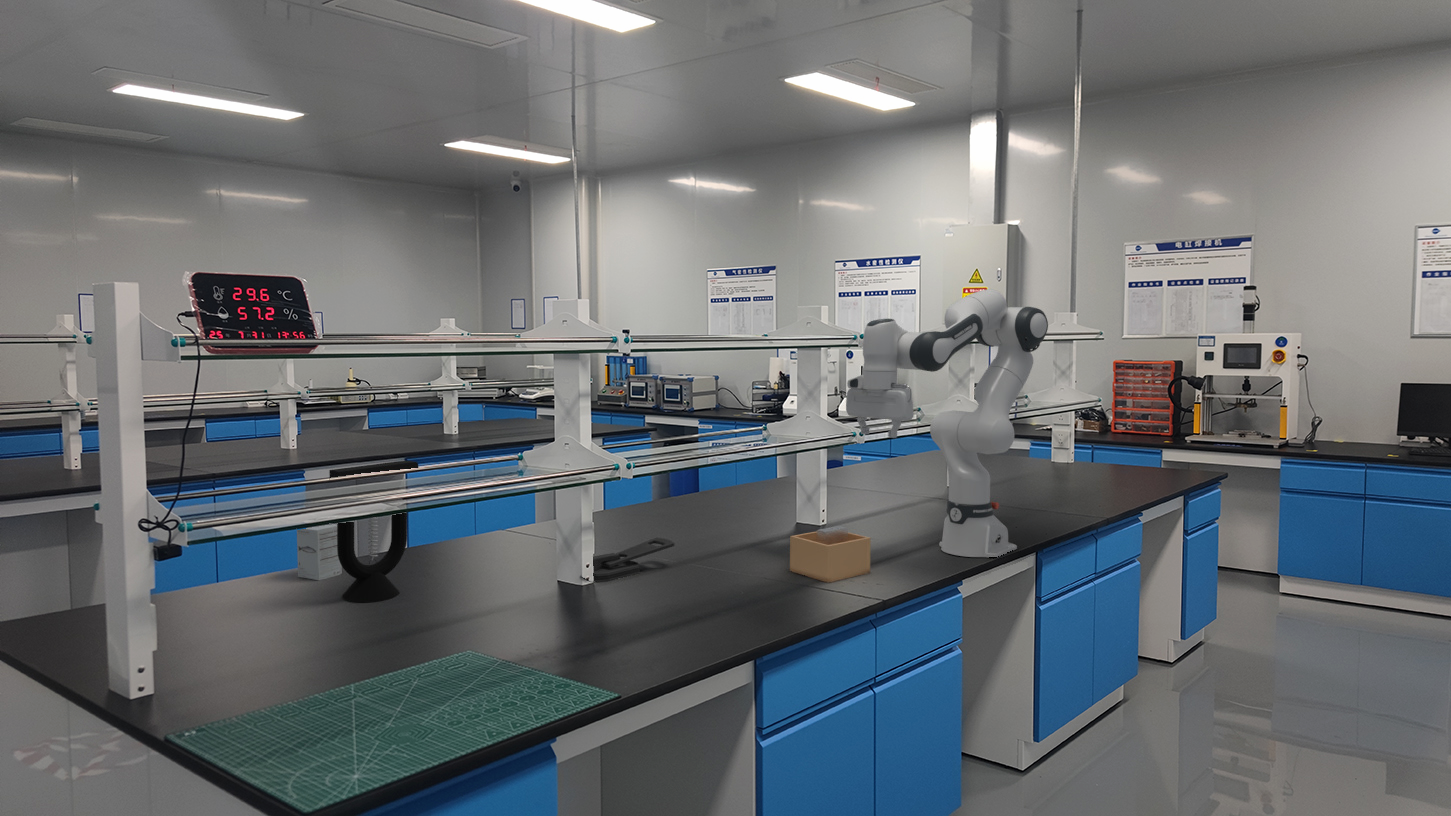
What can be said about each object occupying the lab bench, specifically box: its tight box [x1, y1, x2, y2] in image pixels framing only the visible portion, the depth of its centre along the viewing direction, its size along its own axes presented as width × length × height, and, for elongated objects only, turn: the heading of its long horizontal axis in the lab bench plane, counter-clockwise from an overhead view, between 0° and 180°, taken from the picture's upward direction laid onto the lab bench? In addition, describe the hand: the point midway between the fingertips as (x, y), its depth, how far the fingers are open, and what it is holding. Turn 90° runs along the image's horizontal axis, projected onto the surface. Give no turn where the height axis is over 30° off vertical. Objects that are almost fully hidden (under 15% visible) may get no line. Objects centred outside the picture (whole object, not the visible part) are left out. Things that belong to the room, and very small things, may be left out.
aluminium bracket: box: [816, 525, 849, 545], centre depth 229 cm, size 8×6×10 cm
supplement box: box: [296, 523, 343, 582], centre depth 221 cm, size 7×7×13 cm
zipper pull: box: [592, 537, 675, 583], centre depth 227 cm, size 9×7×25 cm
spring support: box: [328, 459, 419, 603], centre depth 206 cm, size 21×12×30 cm, turn 147°
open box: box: [789, 530, 872, 584], centre depth 227 cm, size 15×14×9 cm
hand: (878, 435), depth 231 cm, fingers open, 8 cm apart
